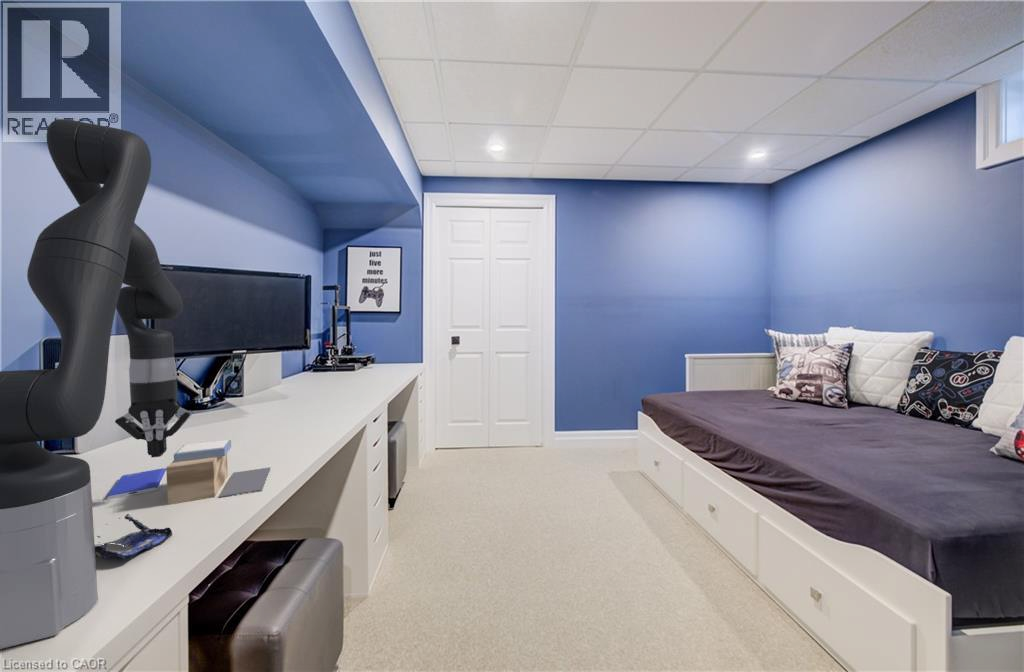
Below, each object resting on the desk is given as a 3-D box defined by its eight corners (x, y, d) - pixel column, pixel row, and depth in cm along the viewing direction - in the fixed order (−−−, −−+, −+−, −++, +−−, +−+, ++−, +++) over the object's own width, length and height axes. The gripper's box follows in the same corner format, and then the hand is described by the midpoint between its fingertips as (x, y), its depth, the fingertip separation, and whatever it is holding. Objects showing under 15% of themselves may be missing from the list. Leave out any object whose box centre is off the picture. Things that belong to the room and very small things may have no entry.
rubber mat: (262, 490, 87) (262, 489, 87) (219, 497, 84) (219, 496, 84) (270, 468, 100) (270, 467, 100) (233, 473, 97) (233, 472, 97)
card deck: (224, 456, 87) (224, 447, 87) (174, 462, 83) (173, 453, 83) (231, 447, 93) (230, 439, 93) (184, 452, 89) (183, 444, 89)
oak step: (214, 496, 84) (213, 461, 84) (168, 504, 81) (166, 467, 80) (227, 476, 95) (226, 444, 95) (187, 481, 92) (185, 449, 91)
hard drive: (121, 475, 93) (106, 495, 83) (166, 467, 98) (157, 485, 88) (121, 481, 93) (106, 502, 83) (166, 473, 98) (157, 492, 88)
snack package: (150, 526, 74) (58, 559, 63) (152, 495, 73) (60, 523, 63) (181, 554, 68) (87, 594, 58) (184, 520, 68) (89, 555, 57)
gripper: (103, 383, 77) (108, 467, 78) (186, 378, 83) (190, 456, 84) (121, 377, 84) (125, 455, 85) (196, 373, 90) (200, 446, 91)
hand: (157, 455), depth 84 cm, fingers closed
